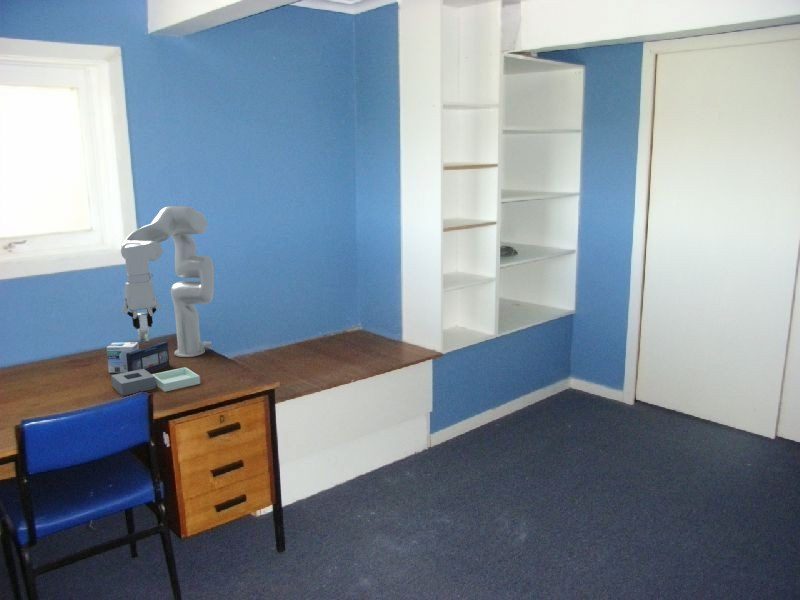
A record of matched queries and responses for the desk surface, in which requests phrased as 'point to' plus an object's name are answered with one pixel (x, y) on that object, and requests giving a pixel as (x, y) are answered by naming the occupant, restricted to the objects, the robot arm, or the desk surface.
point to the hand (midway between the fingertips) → (143, 326)
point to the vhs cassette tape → (149, 358)
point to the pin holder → (133, 381)
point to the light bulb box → (119, 356)
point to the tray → (176, 379)
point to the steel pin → (143, 327)
